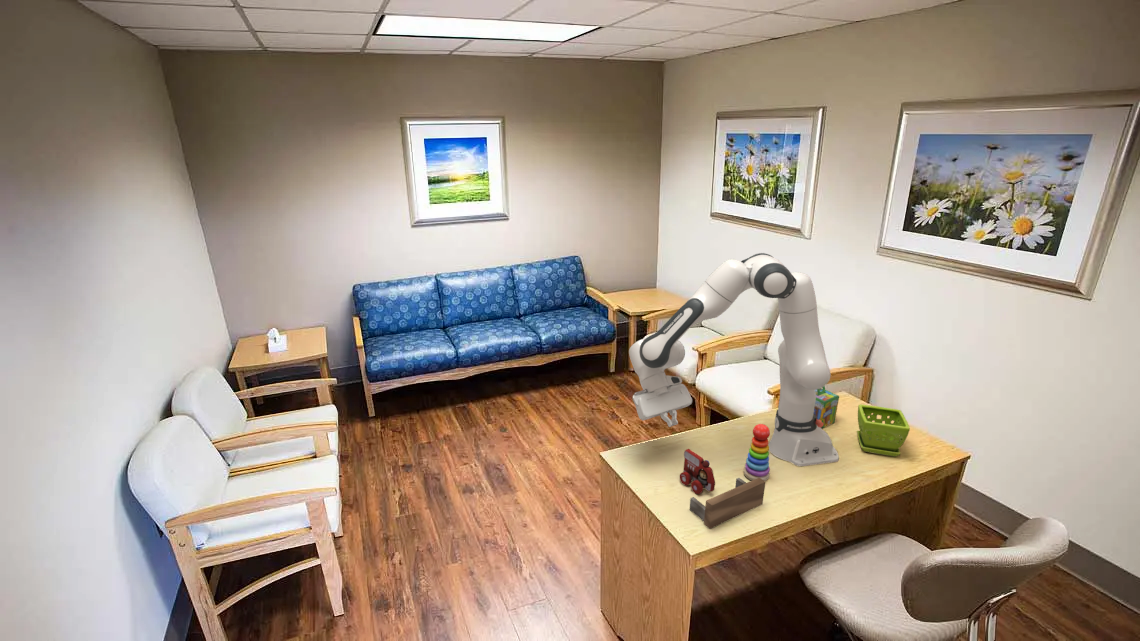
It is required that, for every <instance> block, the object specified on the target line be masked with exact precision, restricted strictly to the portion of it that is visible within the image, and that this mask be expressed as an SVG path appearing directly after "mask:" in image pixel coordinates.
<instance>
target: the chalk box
mask: <svg viewBox="0 0 1140 641" xmlns="http://www.w3.org/2000/svg"><path fill="white" fill-rule="evenodd" d="M815 393H816V401H815V407H814V413H813V414H814V415H815V416H816V417H817V418H818V420H821V421H822V422H823V424H824V425H823V426H822V427H820V428H822V429H825V428H827V427H828V426H830V425H833V424H835V422H836V418H837V412H838V411H837V410H838V404H839V400H840V395H838V394H836V393H833V392H831V391H830V390H827V389H826V385H825V386H824V387H822V388H820V389H816V390H815Z"/></svg>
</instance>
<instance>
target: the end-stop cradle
mask: <svg viewBox="0 0 1140 641" xmlns="http://www.w3.org/2000/svg"><path fill="white" fill-rule="evenodd" d="M765 489H766V481H764V480H762V479H761V478H757V479H754V480H750V481H747V482H746V481H745V480H743V479H742V478H740V477H737V478H736V479H735V486H734V488H731V489H729V490H727V491H725V492H722V493H720V494H718V495H716V496H714V497H711V498H709V499H706V500H705V505H704V504H703V503H702V502H700V500H698V499H697V498H696V497H694V496H693V497H690V499H689V508H688V509H689V510H690V511H691V512H692V513H693V514H694V515H695V516H696V517H698V518H699V519H700V520H701V521H702V522H703V525H704V526H706V527H707V529H709V530H711V529H714V528H715V527H717V526H719V525H723V523H726V522H728V521H730V520H732V519H734V518H736V517H738V516H740V515H743V514H745V513H747V512H749V511H752V510H754V509H756V508H758V507H760V506H762V505H763V503H764V496H765Z"/></svg>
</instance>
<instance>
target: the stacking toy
mask: <svg viewBox="0 0 1140 641" xmlns="http://www.w3.org/2000/svg"><path fill="white" fill-rule="evenodd" d="M752 435H753V437H752V438H751V443H750V447H749V448H748V449H749V450H748V453H747V455H746V456H747V458H746V459H745V465H744V466H745V467H744V468H743V475H744V476H745V477H746V478H747V479H748V480H750V481H752V480H754V479H757V478H761V479H762V480H764V481H765V482H766V481H767V480H769V478H770V476H771V475H770V474H771V473H770V470H771V469H770V462H769V461H770V457H769V454H770V451H769V446H768V444H769V442H770V440H769V439H768V438H769V437H770V435H771V431H770V428H769V427H768V426H767V425H766V424H763V423H758V424H756V425H755V426H754V427H753V428H752Z"/></svg>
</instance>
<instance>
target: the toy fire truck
mask: <svg viewBox="0 0 1140 641" xmlns="http://www.w3.org/2000/svg"><path fill="white" fill-rule="evenodd" d="M683 457H684V462H683V470H682V472H680V474H679V480H680V482H681V483H682V485H683V486H689V485H690V488H691V491H692V492H693V494H696V495H700V494H702V493H703V492H704V489H705V491H707V492H709V493H710V492H713V491H715V486H716V480H715V474H714V471H713V468H712V467H711V466H710V462H709V460H706V459H705V460H704V458H703V456H700V455H699V454H697V452H695V451H694V450H692V449H690V448H687V449H685V450H684V452H683Z"/></svg>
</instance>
